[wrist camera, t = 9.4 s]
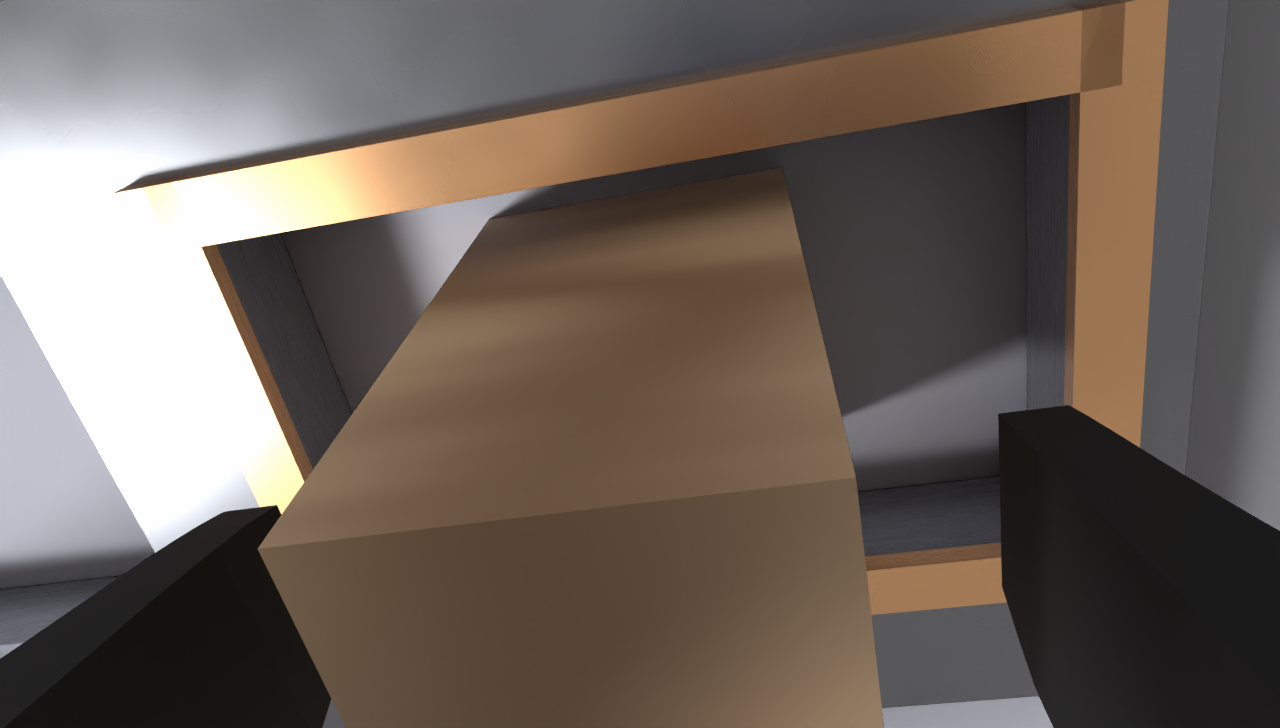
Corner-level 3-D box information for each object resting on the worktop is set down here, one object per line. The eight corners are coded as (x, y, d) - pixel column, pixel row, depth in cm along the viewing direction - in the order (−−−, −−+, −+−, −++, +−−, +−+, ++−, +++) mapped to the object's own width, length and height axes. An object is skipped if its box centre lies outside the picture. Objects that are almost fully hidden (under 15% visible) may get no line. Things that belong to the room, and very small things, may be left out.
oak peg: (558, 460, 14) (434, 906, 8) (489, 218, 12) (256, 549, 6) (816, 427, 13) (902, 884, 7) (781, 166, 12) (857, 477, 5)
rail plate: (-208, 733, 19) (-295, 811, 17) (-705, 170, 13) (-899, 208, 12) (1124, 614, 15) (1175, 702, 13) (1177, -264, 9) (1274, -296, 8)
